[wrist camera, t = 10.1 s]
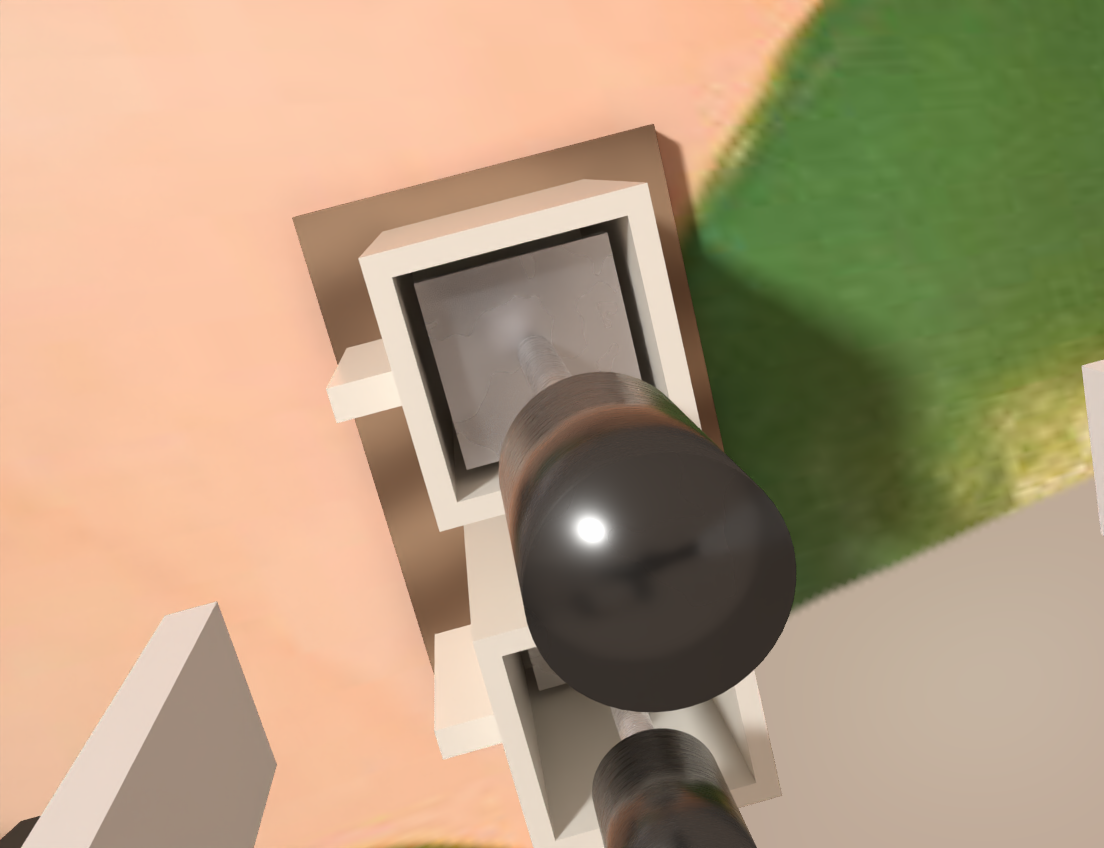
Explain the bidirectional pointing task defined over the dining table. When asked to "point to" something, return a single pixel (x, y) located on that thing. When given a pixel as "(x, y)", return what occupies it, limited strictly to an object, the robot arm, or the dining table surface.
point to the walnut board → (351, 321)
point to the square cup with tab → (563, 709)
